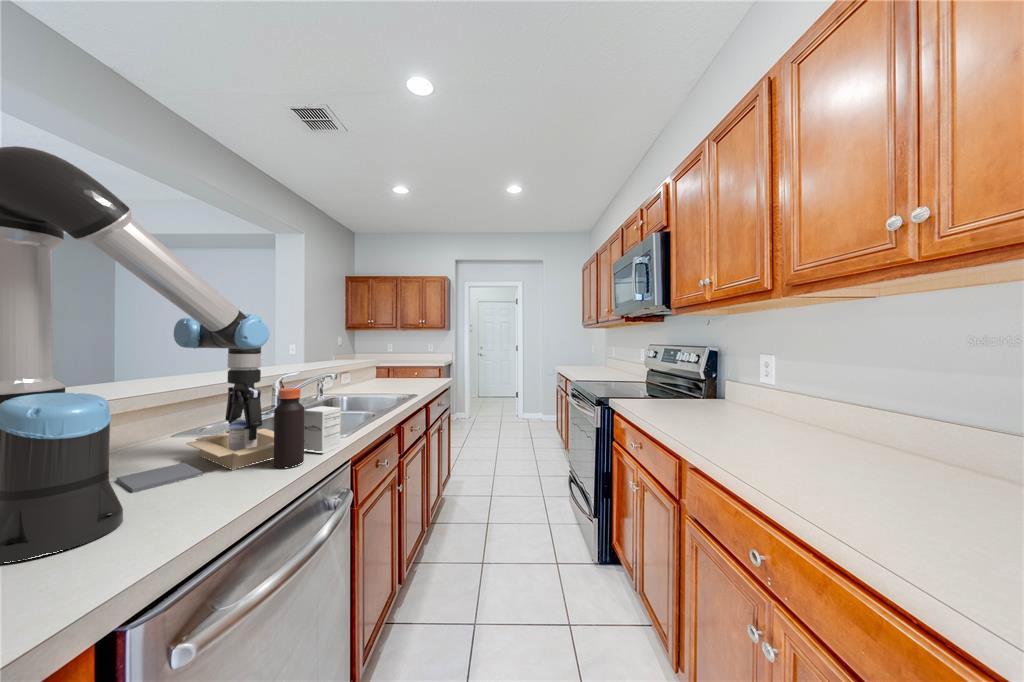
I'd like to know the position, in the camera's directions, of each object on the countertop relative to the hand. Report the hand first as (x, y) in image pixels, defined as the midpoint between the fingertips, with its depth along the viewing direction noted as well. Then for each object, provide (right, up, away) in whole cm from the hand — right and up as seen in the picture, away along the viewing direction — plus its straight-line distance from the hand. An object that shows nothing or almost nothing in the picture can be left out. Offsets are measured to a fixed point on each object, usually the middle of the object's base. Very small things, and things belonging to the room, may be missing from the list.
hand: (242, 448), depth 101 cm
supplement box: (+19, -3, +7) cm, 20 cm away
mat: (-7, -2, -16) cm, 18 cm away
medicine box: (0, -1, 0) cm, 1 cm away
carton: (0, -2, 0) cm, 2 cm away
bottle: (+17, -3, -6) cm, 18 cm away
